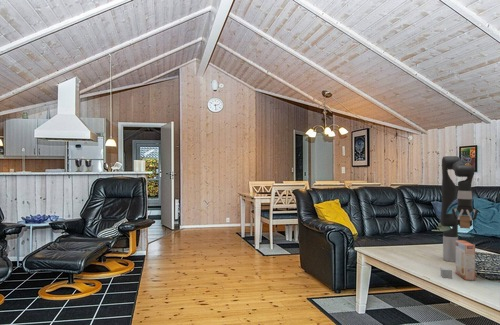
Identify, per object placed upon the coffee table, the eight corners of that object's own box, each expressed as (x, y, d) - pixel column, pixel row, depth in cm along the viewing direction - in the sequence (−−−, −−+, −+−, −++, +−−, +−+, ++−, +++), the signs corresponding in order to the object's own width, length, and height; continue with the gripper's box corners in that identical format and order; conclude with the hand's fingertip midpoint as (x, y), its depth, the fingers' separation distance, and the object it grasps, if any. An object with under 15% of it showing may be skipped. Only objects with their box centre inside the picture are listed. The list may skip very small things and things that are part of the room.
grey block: (440, 275, 218) (440, 267, 218) (449, 276, 217) (449, 268, 217) (442, 278, 213) (442, 269, 213) (452, 278, 212) (452, 270, 212)
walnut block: (460, 226, 219) (459, 215, 219) (469, 227, 217) (469, 215, 217) (460, 227, 215) (460, 216, 215) (469, 228, 212) (469, 216, 212)
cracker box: (475, 280, 208) (475, 245, 208) (464, 280, 209) (464, 244, 209) (465, 273, 222) (465, 240, 222) (455, 273, 223) (455, 239, 223)
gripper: (478, 198, 216) (478, 226, 215) (451, 197, 223) (451, 224, 223) (479, 199, 209) (479, 228, 209) (451, 198, 216) (451, 226, 216)
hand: (464, 226), depth 216 cm, fingers closed on walnut block, 5 cm apart
